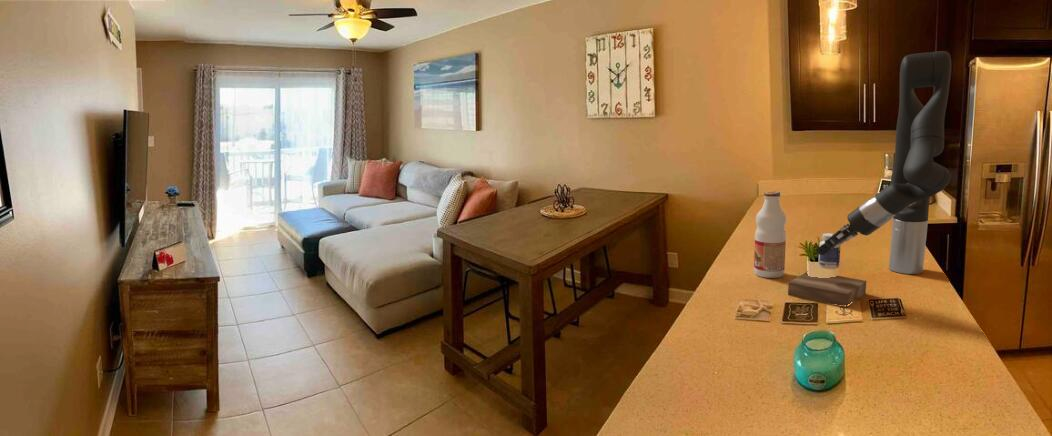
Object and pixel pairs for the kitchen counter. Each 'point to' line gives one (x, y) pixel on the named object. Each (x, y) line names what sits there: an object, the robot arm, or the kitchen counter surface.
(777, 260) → the fruit juice
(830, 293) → the walnut base
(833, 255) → the pill bottle
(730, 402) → the kitchen counter surface
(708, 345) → the kitchen counter surface
